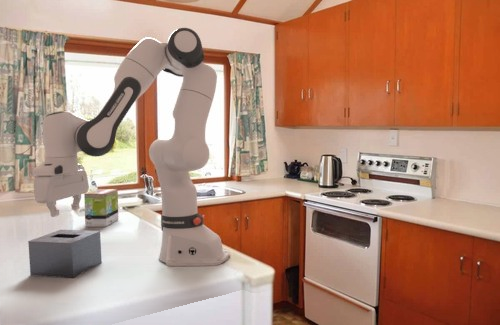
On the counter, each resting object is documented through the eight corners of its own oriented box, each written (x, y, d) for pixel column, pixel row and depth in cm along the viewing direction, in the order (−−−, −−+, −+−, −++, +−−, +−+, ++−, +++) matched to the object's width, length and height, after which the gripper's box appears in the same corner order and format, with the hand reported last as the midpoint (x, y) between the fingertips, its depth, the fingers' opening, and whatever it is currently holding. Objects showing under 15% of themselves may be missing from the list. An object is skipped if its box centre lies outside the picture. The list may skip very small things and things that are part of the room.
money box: (101, 262, 130) (100, 231, 129) (73, 278, 117) (71, 243, 116) (62, 260, 133) (60, 229, 132) (30, 275, 120) (28, 241, 119)
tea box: (107, 226, 180) (106, 193, 179) (84, 227, 180) (82, 193, 179) (119, 219, 195) (117, 188, 194) (98, 219, 195) (96, 188, 194)
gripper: (74, 163, 133) (77, 205, 135) (27, 170, 113) (32, 220, 115) (92, 162, 132) (95, 205, 133) (47, 170, 112) (52, 220, 113)
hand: (65, 212), depth 124 cm, fingers open, 8 cm apart
